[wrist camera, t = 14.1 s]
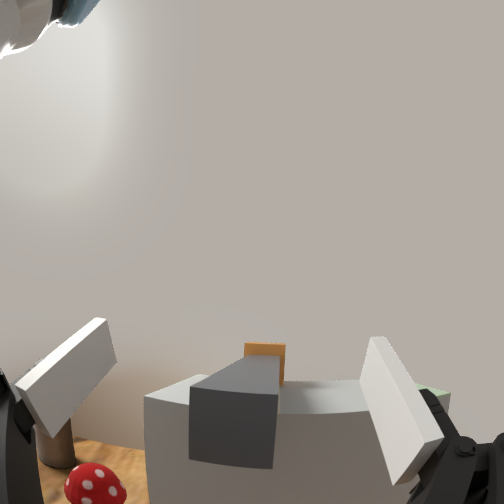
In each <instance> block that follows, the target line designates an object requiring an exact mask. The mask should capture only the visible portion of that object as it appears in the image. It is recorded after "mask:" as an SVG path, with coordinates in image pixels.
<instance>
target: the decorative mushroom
mask: <svg viewBox="0 0 504 504" xmlns="http://www.w3.org/2000/svg"><path fill="white" fill-rule="evenodd" d="M64 492H65V495H66V497H67V499H68V500H69V501H70V502H71V503H72V504H124V502H125V500H126V497H127V494H126V489H125V487H124V486H123V484H122V483H121V481H120V480H119V479H118V478H117V476H116V475H115V474H114V473H113V472H112V471H111V470H110V469H109V468H107V467H105V466H103V465H101V464H97V463H84V464H81V465H78V466H76V467H75V468H74V469H73V470H72V471H71V472H70V474H69V477H68V478H67V479H66V481H65V485H64Z"/></svg>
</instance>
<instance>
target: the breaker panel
mask: <svg viewBox="0 0 504 504" xmlns="http://www.w3.org/2000/svg"><path fill="white" fill-rule="evenodd" d="M207 377H209V376H208V375H200V374H197V375H195V376H193V377H190V378H188V379H185V380H183V381H181V382H178V383H176V384H173V385H171V386H168V387H166V388H163V389H161V390H158V391H155V392H153V393H150V394H147V395H145V396H144V440H145V459H146V473H147V483H148V493H149V501H150V504H406V503H407V502H408V500H409V498H410V496H411V494H412V493H413V492H412V493H411V494H409V492H410V491H411V490H412V489H413V488H414V487H415V485H416V484H417V483H418V482H419V481H420V478H419V475H418V474H417V475H416V476H415V477H414V478H413V480H412V481H411V482H407V483H403V484H399V485H395V486H393V485H392V482H391V478H390V475H389V471H388V468H387V464H386V461H385V458H384V454H383V451H382V448H381V445H380V442H379V439H378V435H377V432H376V429H375V426H374V423H373V420H372V417H371V414H370V411H369V409H368V406H367V403H366V400H365V397H364V394H363V391H362V389H361V386H360V383H359V380H360V379H356V380H337V381H283V385H279V395H278V410H277V423H276V436H275V448H274V459H273V469H255V468H244V467H234V466H226V465H219V464H212V463H206V462H200V461H195V460H190V459H189V391H190V386H191V385H193V384H195V383H197V382H199V381H201V380H203V379H205V378H207ZM414 384H415V385H416V387H417V389H418V390H420V389H426V388H427V389H428V390H430V391H431V392H432V393H433V394H435V395H436V397H437V398H438V400H439V401H440V403H441V404H440V405H442V406H443V408H444V410H445V412H446V413H447V415H448V409H449V402H450V395H451V394H450V392H446V391H442V390H438V389H434V388H430V387H427V386H424V385H420V384H417V383H414Z"/></svg>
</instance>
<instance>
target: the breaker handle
mask: <svg viewBox="0 0 504 504" xmlns="http://www.w3.org/2000/svg"><path fill="white" fill-rule="evenodd" d="M284 364H285V343H260V342H247V343H245V349H244V358H242V359H240V360H238V361H236V362H235V363H233V364H231V365H229V366H227V367H226V368H224V369H222V370H220V371H218V372H217V373H215V374H213V375H211V376H209V377H207V378H205V379H203V380H201V381H199V382H197V383H195V384H193V385H191V386H190V391H189V459H190V460H195V461H200V462H206V463H212V464H219V465H226V466H234V467H244V468H255V469H273V459H274V448H275V436H276V423H277V410H278V395H279V385H283V381H284V380H283V379H284Z"/></svg>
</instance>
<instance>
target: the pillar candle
mask: <svg viewBox="0 0 504 504" xmlns="http://www.w3.org/2000/svg"><path fill="white" fill-rule="evenodd" d="M33 428H34V429H35V435H36V446H37V451H38V456H39V458H40V460H41V461H42V462H43V463H44V464H46V465H48V466H51V467H55V468H70V467H72V466H74V465H75V464H76V458H75V451H74V446H73V438H72V430H71V420H70V418H69V419H68V421H67V422H66V423H65V424H64V426H63V427H62V428H61V429H60V431H59V432H58V433H57V434H56V436H55V437H54V438H51V437H49V436H47V435H46V434H44V433H42V432H41V430H40V429H39V427H38V426H37V424H36V423H35V424H34V425H33Z"/></svg>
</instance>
